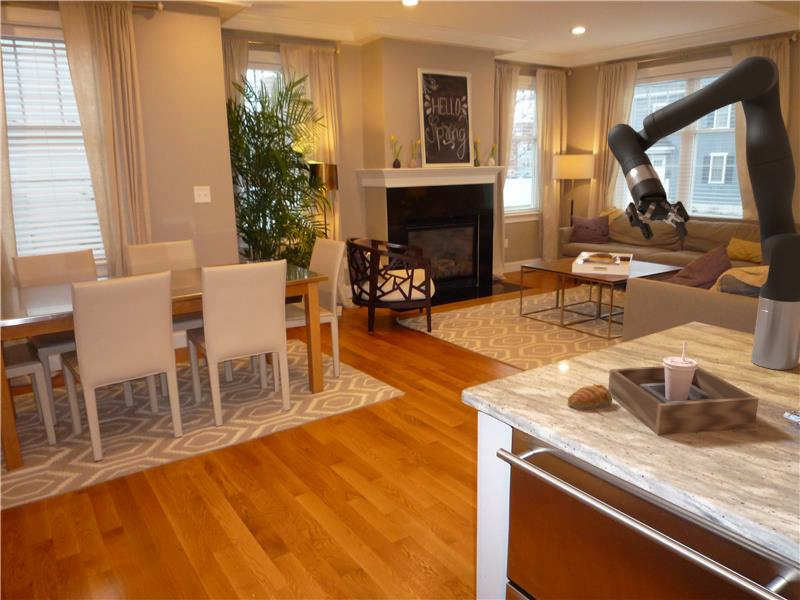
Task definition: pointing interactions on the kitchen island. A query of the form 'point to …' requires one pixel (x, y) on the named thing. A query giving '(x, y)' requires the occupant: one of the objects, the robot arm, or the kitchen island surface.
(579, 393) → the pastry
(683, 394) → the smoothie
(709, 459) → the kitchen island surface
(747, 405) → the crate
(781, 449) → the kitchen island surface
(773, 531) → the kitchen island surface
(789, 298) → the robot arm
